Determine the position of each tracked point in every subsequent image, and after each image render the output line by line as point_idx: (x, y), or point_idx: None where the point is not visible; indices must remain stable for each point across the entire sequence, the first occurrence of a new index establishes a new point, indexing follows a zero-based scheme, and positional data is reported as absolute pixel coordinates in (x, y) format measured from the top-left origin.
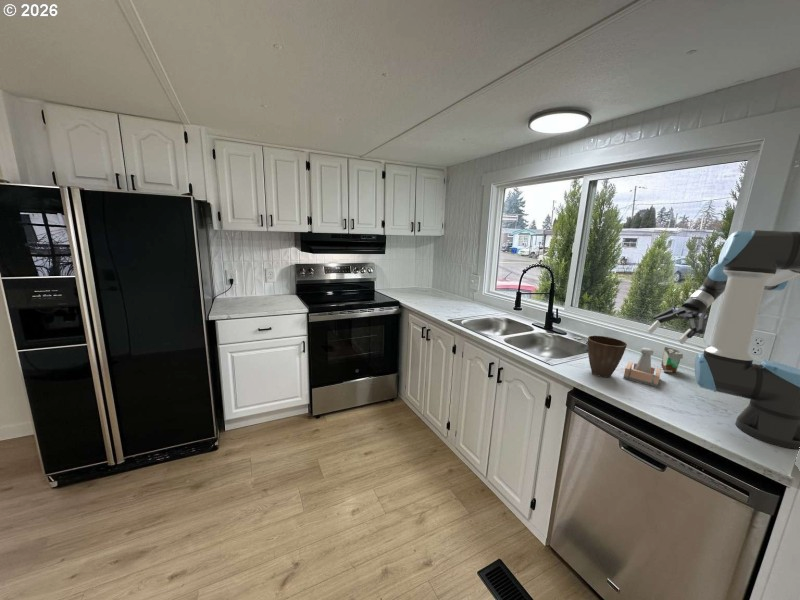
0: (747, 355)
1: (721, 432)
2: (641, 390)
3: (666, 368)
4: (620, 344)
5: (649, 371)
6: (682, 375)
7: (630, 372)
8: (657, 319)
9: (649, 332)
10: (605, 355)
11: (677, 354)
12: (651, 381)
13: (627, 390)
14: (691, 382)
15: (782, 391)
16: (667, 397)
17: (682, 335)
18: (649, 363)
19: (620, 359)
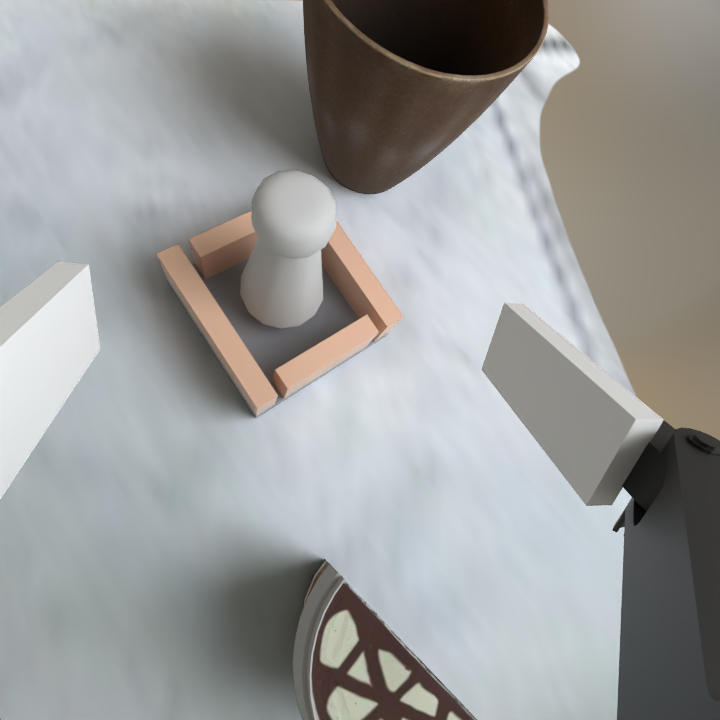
0: None
1: None
2: (164, 166)
3: (323, 568)
4: (412, 89)
5: (243, 282)
6: (265, 664)
7: (333, 286)
8: (683, 440)
9: (497, 344)
10: None
11: (311, 650)
12: (194, 259)
13: (183, 105)
14: (160, 600)
15: None
16: (61, 212)
17: (50, 298)
18: (252, 255)
19: (312, 83)
